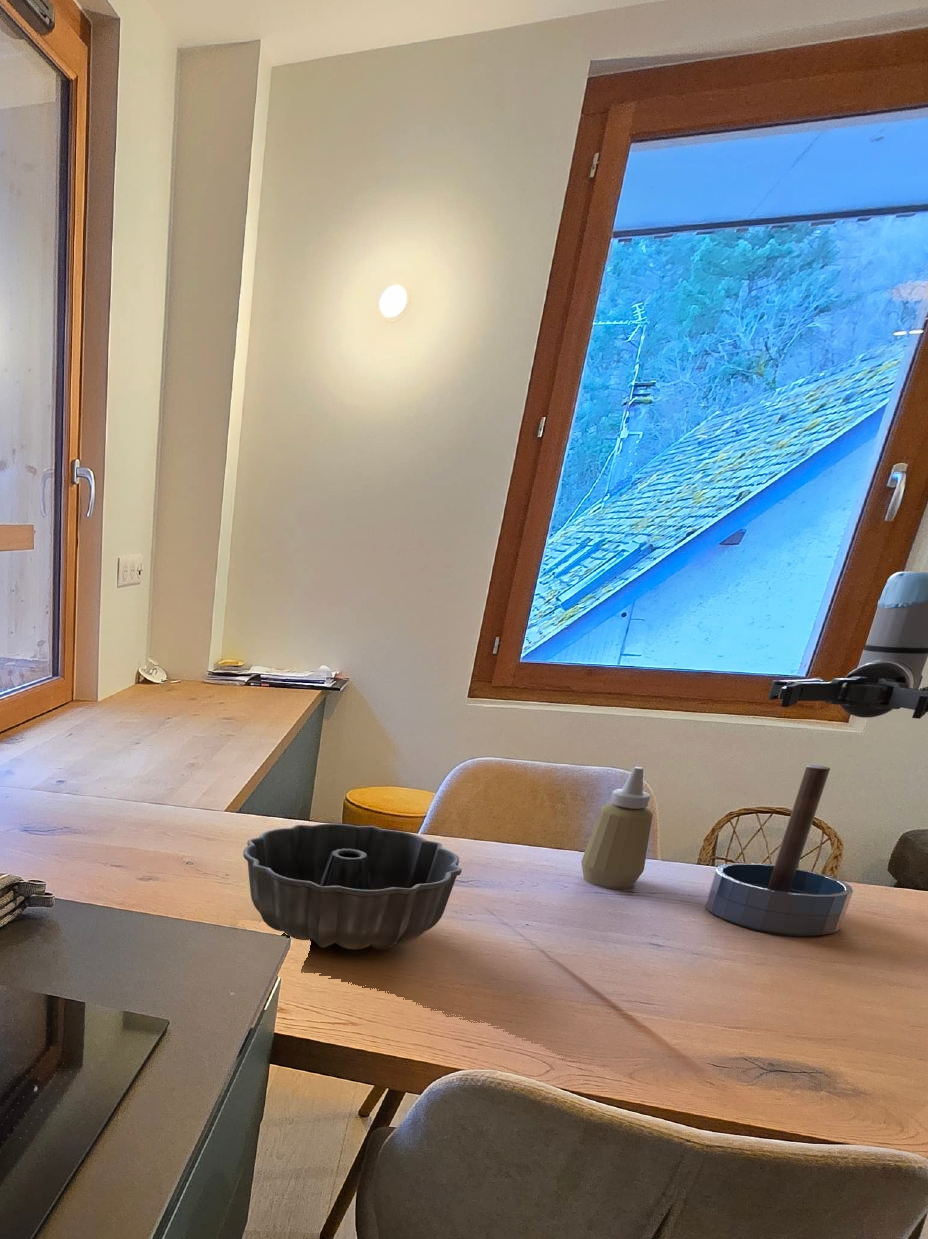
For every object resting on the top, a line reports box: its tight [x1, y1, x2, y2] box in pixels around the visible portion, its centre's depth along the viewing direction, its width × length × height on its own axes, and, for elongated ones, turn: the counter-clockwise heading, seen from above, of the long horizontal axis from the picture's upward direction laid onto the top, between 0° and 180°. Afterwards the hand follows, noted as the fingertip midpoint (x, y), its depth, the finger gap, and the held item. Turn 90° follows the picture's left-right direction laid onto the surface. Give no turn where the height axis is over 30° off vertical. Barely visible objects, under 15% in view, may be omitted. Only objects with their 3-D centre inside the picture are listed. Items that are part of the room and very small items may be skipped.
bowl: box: [704, 862, 854, 938], centre depth 128 cm, size 15×15×6 cm
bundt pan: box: [242, 823, 463, 950], centre depth 124 cm, size 26×26×10 cm
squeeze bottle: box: [581, 766, 654, 890], centre depth 137 cm, size 8×8×18 cm
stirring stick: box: [767, 764, 831, 892], centre depth 125 cm, size 5×5×20 cm
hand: (851, 701), depth 124 cm, fingers open, 13 cm apart
